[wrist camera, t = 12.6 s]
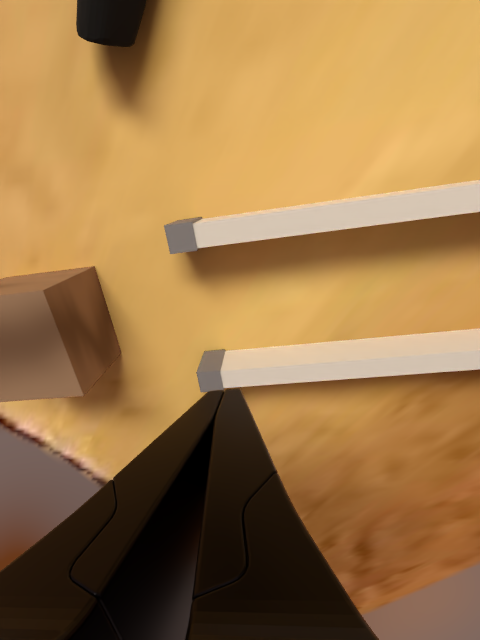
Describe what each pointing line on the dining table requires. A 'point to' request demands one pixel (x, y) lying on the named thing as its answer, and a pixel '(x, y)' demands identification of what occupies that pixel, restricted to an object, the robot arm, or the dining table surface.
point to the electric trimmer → (109, 21)
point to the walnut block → (53, 335)
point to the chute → (334, 356)
